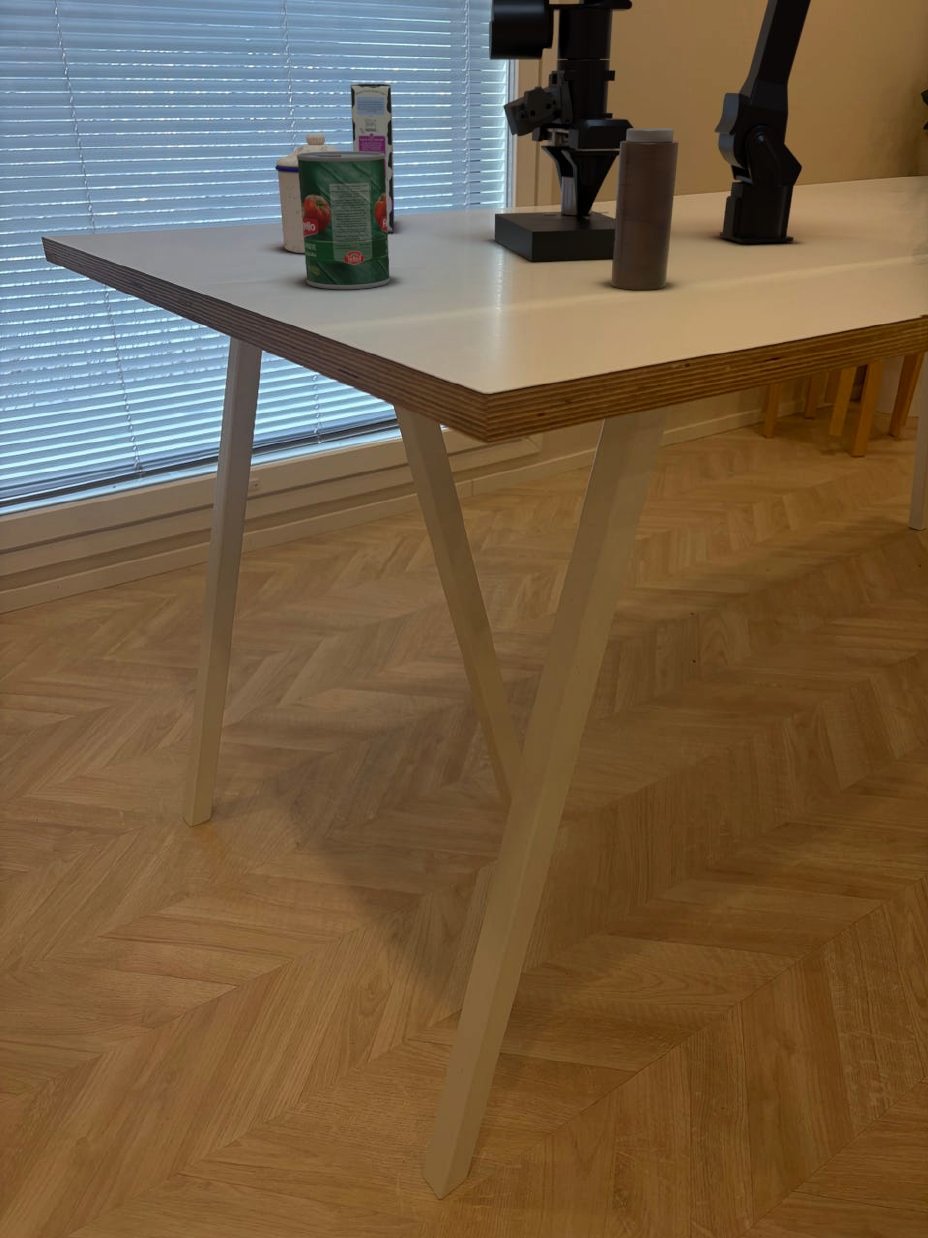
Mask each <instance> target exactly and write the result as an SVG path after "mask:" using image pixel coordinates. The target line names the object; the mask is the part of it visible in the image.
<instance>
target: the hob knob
mask: <svg viewBox="0 0 928 1238" xmlns="http://www.w3.org/2000/svg"><path fill="white" fill-rule="evenodd" d="M592 211H593V206H592V207H591V209H590V211H589V213H588V215H590V214H592ZM560 212H561V214H563V215H571V216H578V215H577V209H576V199H575V186H574V175H565V176H562V193H561V196H560Z"/></svg>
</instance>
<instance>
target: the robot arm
mask: <svg viewBox="0 0 928 1238" xmlns="http://www.w3.org/2000/svg"><path fill="white" fill-rule="evenodd" d="M811 3H812V0H767V4H766V6H765V7H766V8H765V11H764V14H763V19H762V22H761V25H760V30H759V34H758V37H757V41H756V45H755V49H754V52H753V56H752V60H751V64H750V67H749V71H748V74H747V77H746V79H745V81H744V82H743V84H742V86H741V88H740V89H739V91H738V92H726V93H724V97H723V103H722V111H721V117H720V119H719V122H718V123H717V125H716V127H715V129H714V133H717V134H718V140H717V141H718V142H717V147H718V151H719V153H720V155H721V157H722V159H723V160H724V161H725V162H726V163H727V164H729V166H730V170H731V174H732V179H733V180H735V181H732V182H731V187H730V195H728V196H726V199H725V205H724V206H725V207H724V217H723V225H722V231H720V232H719V237H720V238H724V239H726V240H727V239H728V240H730V241H734V242H737V243H740V244H762V243H764V244H765V243H789V242H791V243H792V242H794V236H789V235H788V228H789V220H790V215H791V208H792V201H793V194H794V186H795V185H796V182H797V181H798V179H799V176H800V175H801V172H802V169H803V165H802V164H801V163H800V161H799V160H798V159H797V158H796V157H795V155H794V154H793V152H791V150H790V148H789V147H788V146H787V145H786V135H787V127H788V120H789V87H788V86H789V80H790V77H791V73H792V70H793V66H794V61H795V58H796V54H797V51H798V47H799V44H800V41H801V37H802V34H803V30H804V27H805V23H806V19H807V15H808V12H809V8H810V5H811ZM490 7H491V9H490V20H489V22H488V55H489V61H502V60H503V61H509V60H510V61H513V60H514V61H518V60H519V61H521V60H523V61H531V60H533V61H535V60H536V61H540V60H542V58H543V52H544V50H552V49H553V44H554V34H555V33H554V32H555V12H558V27H557V54H556V55H557V56H556V59H557V60H556V70H551V71H550V73H549V74H548V84H547V86H545V87H542V86H539V85H537V86H535V87H534V88H533V89H532V88H531V89H530V90H525V91H524V92H523V96H521V97H519V98H517V99H514V100H512V101H509V102H507V103H505V104H504V105H503V107H502V108H503V110H504V114H505V117H506V121H507V124H508V127H509V131H510V134H511V136H515V135H517V137H523V136H528V135H529V134H531V141H533V142H538V143H540V142H543V141H547V144H546V145H540V148H541V150H542V151H543V152H545V153H546V154H547V155H548V157H550V159H552V161H553V162H554V164H555V168H556V172H557V177H558V182H559V187H560V193H561V194H562V176H565V175H574V186H575V199H576V209H577V215H578V216H579V217H582V215H585V216H587V215H588V213H589V211H590V209H591V207H592V208H593V205H594V203H595V200H596V199H597V197H598V194H599V192H600V190H601V188H602V186H603V184H604V182H605V180H606V178H607V176H608V174H609V172H610V170H611V168H612V166H613V164H614V163H615V161H616V159H617V158H618V157H619V154H620V142H621V141H626V136H627V129H630V128H635V127H634V126H633V125H632V123H631V122H630V121H629V120H628V119H627V118H615V117H613V114H614V113H613V112H608V99H609V82H615V81H616V70H614V69H610V65H611V64H610V63H611V51H612V50H611V49H612V48H611V47H612V46H611V45H612V33H613V32H612V31H613V30H612V29H613V14H614V12H625V11H628V10H631V9H632V8H633V2H632V1H631V0H578V3H550V0H491V6H490Z"/></svg>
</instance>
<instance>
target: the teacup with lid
mask: <svg viewBox="0 0 928 1238" xmlns="http://www.w3.org/2000/svg"><path fill="white" fill-rule="evenodd" d="M305 142H306V144H303V145H300V146H298V147H297V148H296V149H294V150H293V151H292V152H291V153H289V154H288V155H286V156H283V157H281V158H278V159H277V161H276V163H275V164H276V165H275V167H274V168H275V170H276V171H277V177H278V178H277V179H278V188H279V189H278V191H279V201H280V213H281V224H282V238H283V247H284V249H286V250H287V251H289V252H292V253H297V254H305V247H304V236H303V226H302V225H303V221H302V209H301V198H300V188H299V187H300V183H299V171H298V159H297V154H300V153H308V152H327V151H340V150H339V149H338V148H337V147H335V146H333V145H331V144H325V143H326V137H325V135H324V133H323V134H322V133H309V134H307V135H306V137H305Z"/></svg>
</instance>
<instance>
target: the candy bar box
mask: <svg viewBox="0 0 928 1238" xmlns="http://www.w3.org/2000/svg"><path fill="white" fill-rule="evenodd" d="M349 88H350V107H351V110H350V111H351V130H352V151H363V152H379V153H384V154H385V175H386V179H385V182H386V203H387V223H388V225H387V230H388V233H394V231H395V191H394V189H395V185H394V184H395V183H394V181H395V180H394V176H395V175H394V173H395V172H394V135H393V103H392V86H391V84H387V83H352V84H350V87H349Z"/></svg>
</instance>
